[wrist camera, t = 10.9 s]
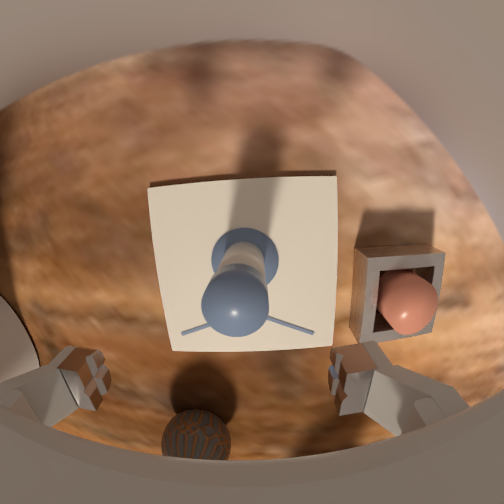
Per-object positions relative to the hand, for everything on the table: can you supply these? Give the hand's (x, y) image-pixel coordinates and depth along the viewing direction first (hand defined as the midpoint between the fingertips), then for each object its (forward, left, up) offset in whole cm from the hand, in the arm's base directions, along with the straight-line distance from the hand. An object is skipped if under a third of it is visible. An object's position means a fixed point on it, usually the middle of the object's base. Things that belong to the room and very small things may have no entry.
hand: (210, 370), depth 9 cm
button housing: (+13, -3, -13) cm, 18 cm away
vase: (-5, -18, -13) cm, 23 cm away
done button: (+13, -3, -12) cm, 17 cm away
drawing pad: (+1, -1, -13) cm, 13 cm away
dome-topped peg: (+1, 0, -12) cm, 12 cm away
